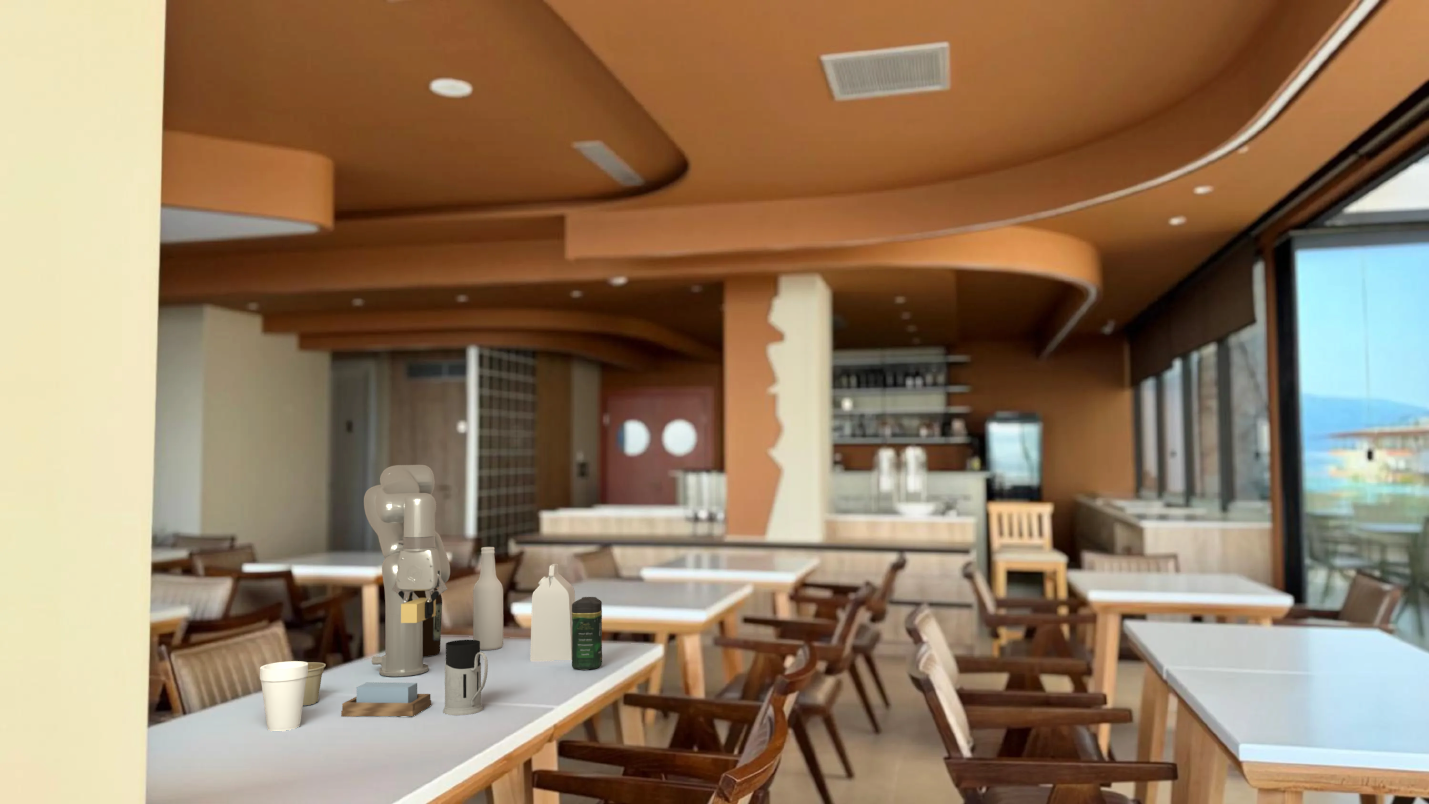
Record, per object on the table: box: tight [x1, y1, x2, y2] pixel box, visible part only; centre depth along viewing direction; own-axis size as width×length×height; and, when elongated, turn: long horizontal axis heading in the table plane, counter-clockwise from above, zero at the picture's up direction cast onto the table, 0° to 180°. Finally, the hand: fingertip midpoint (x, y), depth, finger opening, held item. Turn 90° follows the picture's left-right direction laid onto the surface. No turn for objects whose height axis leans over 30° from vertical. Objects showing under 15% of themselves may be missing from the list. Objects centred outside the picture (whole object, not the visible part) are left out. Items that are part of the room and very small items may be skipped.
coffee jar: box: [571, 596, 603, 671], centre depth 271 cm, size 10×8×19 cm
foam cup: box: [259, 660, 308, 732], centre depth 213 cm, size 10×9×13 cm
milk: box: [529, 563, 576, 662], centre depth 287 cm, size 12×12×26 cm
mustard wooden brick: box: [401, 598, 436, 623], centre depth 251 cm, size 4×12×4 cm, turn 174°
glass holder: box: [442, 639, 489, 716], centre depth 224 cm, size 9×14×15 cm, turn 45°
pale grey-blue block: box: [356, 681, 418, 703], centre depth 226 cm, size 12×5×4 cm, turn 83°
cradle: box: [340, 693, 432, 717], centre depth 226 cm, size 16×10×3 cm, turn 83°
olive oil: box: [414, 588, 443, 658], centre depth 294 cm, size 11×11×25 cm
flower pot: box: [303, 661, 327, 706], centre depth 235 cm, size 9×9×9 cm
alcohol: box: [472, 546, 504, 651], centre depth 303 cm, size 9×9×30 cm
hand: (419, 617), depth 251 cm, fingers closed on mustard wooden brick, 4 cm apart
